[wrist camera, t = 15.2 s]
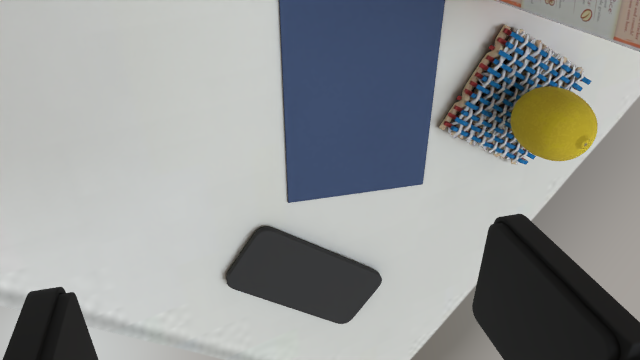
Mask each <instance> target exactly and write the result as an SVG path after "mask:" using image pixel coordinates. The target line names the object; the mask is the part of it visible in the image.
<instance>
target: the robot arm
mask: <svg viewBox="0 0 640 360" xmlns="http://www.w3.org/2000/svg"><path fill="white" fill-rule="evenodd" d="M473 313H474V316H475V318H476V320H477V321H478V323H479V325H480V326H481V327H482V329H483V330H484V332H485V333H486V335H487V336H488V337H489V339H490V340H491V342H492V343H493V345H494V346H495V347H496V349H497V350H498V352H499V353H500V355H501V356H502V358H503V359H504V360H640V322H639V321H638V320H637V319H635V318H634V317H633V316H632V315H631V314H630V313H629V312H628V311H627V310H626V309H625V308H624V307H622V306H621V305H620V304H619V303H618V302H617V301H616V300H615V299H614V298H613V297H612V296H611V295H610V294H608V292H606V291H605V290H604V289H603V288H602V287H601V286H600V285H599V284H598V283H597V282H596V281H595V280H593V279H592V278H591V277H590V276H589V275H588V274H587V273H586V272H585V271H584V270H583V269H582V268H580V266H578V265H577V264H576V263H575V262H574V261H573V260H572V259H571V258H570V257H569V256H568V255H567V254H566V253H564V252H563V251H562V250H561V249H560V248H559V247H558V246H557V245H556V244H555V243H554V242H553V241H552V240H550V239H549V238H548V237H547V236H546V235H545V234H544V233H543V232H542V231H541V230H540V229H539V228H538V227H536V226H535V225H534V224H533V223H532V222H531V221H530V220H529V219H528V218H527V217H526V216H524V215H522V214H516V215H509V216H503V217H499V218H497V219H496V220H495V222H494V224H492V225H491V226H490V227H489V230H488V235H487V239H486V244H485V249H484V253H483V258H482V263H481V267H480V272H479V277H478V281H477V286H476V291H475V296H474V300H473ZM3 360H98V357H97V354H96V352H95V349H94V346H93V343H92V340H91V337H90V335H89V332H88V329H87V326H86V323H85V320H84V317H83V314H82V312H81V309H80V306H79V303H78V300H77V297H76V295H75V294H74V292H71V293H66V292H65V290H64V289H63V288H62V287H56V288H50V289H44V290H38V291H31V292H30V293H28V295H27V297H26V300H25V302H24V305H23V308H22V310H21V313H20V316H19V318H18V321H17V323H16V326H15V329H14V332H13V334H12V337H11V339H10V342H9V345H8V348H7V350H6V352H5V355H4V358H3Z"/></svg>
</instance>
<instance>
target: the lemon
mask: <svg viewBox="0 0 640 360" xmlns="http://www.w3.org/2000/svg"><path fill="white" fill-rule="evenodd" d="M510 123H511V129H512V132H513V134H514V136H515V138H516V139H517V141H518V142H519V143H520V144H521V145H522V146H523V147H524V148H525V149H526V150H528V151H529V152H531V153H532V154H534V155H536V156H539V157H542V158H544V159H547V160H552V161H566V160H570V159H573V158H576V157H578V156H580V155H581V154H583V153H584V152H585V151H586V150H588V149H589V147H590V146H591V145H592V143H593V141H594V140H595V137H596V134H597V120H596V116H595V114H594V112H593V110H592V109H591V107H590V106H589V105H588V104H587V103H586V102H585V101H584V100H583V99H582V98H580V97H579V96H578V95H576V94H575V93H573V92H571V91H569V90H566V89H563V88H559V87H554V86H548V87H539V88H536V89H533V90H531V91H529V92H527V93H525V94H524V95H523V96H522V97H521V98H520V99H519V100H518V101H517V102H516V104H515V106H514V108H513V110H512V113H511V121H510Z"/></svg>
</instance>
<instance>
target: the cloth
mask: <svg viewBox="0 0 640 360" xmlns="http://www.w3.org/2000/svg"><path fill="white" fill-rule="evenodd" d="M444 4H445V0H279V6H280V29H281V52H282V74H283V97H284V120H285V142H286V165H287V188H288V203H290V202H298V201H305V200H312V199H319V198H327V197H334V196H341V195H348V194H356V193H363V192H370V191H377V190H385V189H392V188H399V187H406V186H413V185H421V184H423V177H424V169H425V161H426V152H427V144H428V136H429V128H430V119H431V111H432V103H433V95H434V86H435V78H436V70H437V61H438V53H439V45H440V37H441V28H442V20H443V12H444Z"/></svg>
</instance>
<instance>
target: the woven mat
mask: <svg viewBox="0 0 640 360" xmlns="http://www.w3.org/2000/svg"><path fill="white" fill-rule="evenodd" d="M510 30H511V28H510V27H508V26H507V25H504V26H503V27H502V29H501V31H500V32H499V34H498V36H497V38H496V39H495V47H494V46H492V45H490V47H489V49H490V50H491V51H490V52H489V53H487V54H486V55H485V56H484V58H483V59H482V60H481V62H480V63H479V65H478V66H477V68H476V70H475V71H474V73H473V74H472V76H471V77H470V79H469V81H468V82H467V84H466V85H465V87H464V89H463V91H462V96H458V97H457V98H456V99H457V100H459V101H458V102H456V103H454V105H453V106H452V108H451V109H450V111H449V113H448V114H447V116H446V117H445V119H444V120H443V122H442V124H441V125H440V127H439V128H440V129H442V130H443V131H444V130H445V128H446V127H448V133H449V134H451V135H452V137H453V138H455V137H456V136H457V137H459V138H460V139H463V138H464V136H465V137H467V138H466V141H467V140H468V141H467V142H468V143H469V144H472V145H473V146H475V143H476V142H477V143H478V146H479V147H480V146H482V145H483V147H482V148H484V151H486V150H487V148H490V149H491V150H489V151H488V152H489V153H491V152H492V151H494V154H493V155H495V156H496V157H498V156H500V157H501V158H503V159H504V157H505V156H508V157H507V159H508V160H509V159H510V158H511V164H518V162H520V163H523V164H527V163H528V161H527V160H525V159H524V158H522V157H524V156H528V157H530V158H532V159H534V158H535V155H533V154H531V153H529V151H528V150H526V149H525V148H524V147H523V146H522V145H521V144H520V143H519V142H518V141H517V139H516V138H515V136H514V134H512V133H513V132H512V129H511V123H510V121H511V113H512V110H513V108H514V106H515V104H516V102H517V101H518V100H519V99H520V98H521V97H522V96H523V95H524V94H525V93H527V92H529V91H531V90H533V89H534V88H535V89H536V88H539V87H546V85H547V84H549V86H554V87H559V88H563V89H566V90H567V89H568V88H569V87H570V88H569V91H571V92H572V89H573V88H574V89H576V90H578V91H581V90H582V87H580V86H579V85H578V84H576V83H577V82H579V81H583V82H585V83H586V84H588V85H589V84H590V82H591V81H590V80H589V79H587V78H585V77H584V71H583V69H582V67H577V68H576V69H575V65H574V67H573V69H571V68H569V67H570V65H571V63H570V61H568V62H567V58H565V57H561V58H560V59H558V60H557V58H558V57H559V56H560V54H557V55H555V56H554V52H552V49H549V47H547V46H546V45H544V44H542V43H541V41H539V40H536V39H533V40H532V41H530V42H529V40H528V39H529V35H528V34H526V37H524V36H525V35H524V34H525V32H524V30H522V29H520V30H519V29H517V30H516V32H513V31H510ZM507 35H508V36H510V38H509V39H508V40H507V41H506V40H505V39H506V37H507ZM525 46H526V50H525V52H524V51H523V49H524V48H525ZM548 49H549V52H548V53H547V50H548ZM511 53H512V54H511ZM510 54H511V55H510ZM520 55H521V56H522V57H520V58H519V59H518V57H519V56H520ZM542 58H544V59H543V60H542V61H541V59H542ZM505 59H507V60H508V63H507V64H506V65H505V64H503V61H504V60H505ZM517 59H518V60H517ZM529 61H530V63H529ZM490 62H492V65H491V66H490V67H488V65H489V63H490ZM528 63H529V64H528ZM527 64H528V66H527ZM568 64H569V65H568ZM500 67H501V68H502V69H503V71H501V72H500V73H499V72H497V70H498V69H499V68H500ZM536 67H537V70H536V71H535V70H534V69H535V68H536ZM559 68H560V70H559V71H558V72H557V70H558V69H559ZM485 70H486V71H487V72H488V73H486V72H484V71H485ZM523 70H524V71H523ZM522 71H523V73H522V74H521V72H522ZM566 73H569V74H567V75H566ZM531 74H532V76H531V77H529V76H530V75H531ZM483 75H485V76H483ZM565 75H566V76H565ZM486 76H487V77H486ZM553 76H555V78H554V79H553V80H552V81H551V78H552V77H553ZM570 76H571V77H570ZM568 77H569V78H568ZM516 78H519V79H520V82H519V84H518V83H516V82H515V80H516ZM478 80H479V82H480V83H481V84H477V81H478ZM482 80H483V81H484V82H483V81H482ZM502 81H503V84H502V85H500V84H501V83H502ZM539 81H540V82H539ZM538 82H539V83H538ZM537 83H538V84H537ZM511 86H514V87H515V89H513V90H511V91H510V90H509V89H510V87H511ZM474 87H476V89H475V91H474V92H472V89H473V88H474ZM497 89H499V91H497V92H496V90H497ZM495 92H496V93H495ZM482 93H485V94H484V95H483V97H481V94H482ZM498 94H500V95H498ZM470 96H471V97H470ZM491 98H492V100H491V101H490V99H491ZM495 99H496V100H495ZM513 100H514V103H512V101H513ZM477 101H479V103H478V105H476V102H477ZM486 105H488V107H487V108H485V106H486ZM509 106H510V107H511V108H509V109H508V110H507V108H508V107H509ZM484 108H485V109H484ZM473 109H474V110H475V113H473ZM458 111H459V112H460V114H459V115H458V116H456V113H457V112H458ZM510 111H511V112H510ZM503 114H504V115H503ZM502 116H503V119H502V118H501V117H502ZM507 116H508V117H507ZM469 118H470V120H469V121H467V120H468V119H469ZM452 119H454V121H456V122H452V123H450V122H451V120H452ZM498 122H499V124H498V125H496V124H497V123H498ZM486 127H487V130H486ZM482 128H483V129H482ZM470 129H471V131H470V132H468V131H469V130H470ZM451 130H452V131H451ZM479 132H480V134H479ZM509 138H510V140H509ZM508 140H509V141H508ZM498 142H499V145H498ZM517 142H518V144H517V146H516V145H515V144H516V143H517ZM511 149H514V150H513V151H512V152H509V151H510V150H511ZM520 154H522V155H520Z"/></svg>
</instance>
